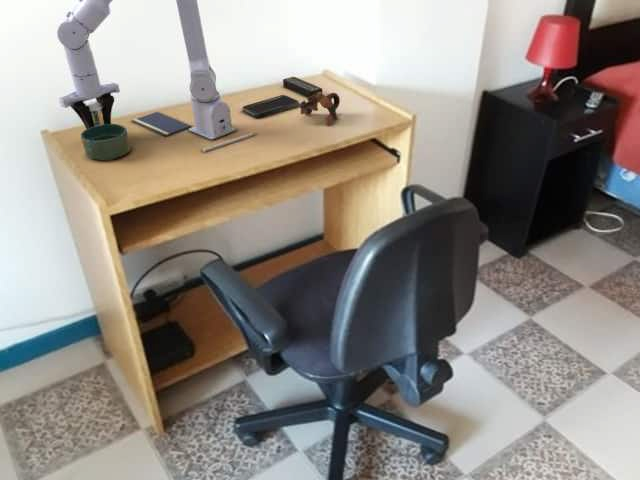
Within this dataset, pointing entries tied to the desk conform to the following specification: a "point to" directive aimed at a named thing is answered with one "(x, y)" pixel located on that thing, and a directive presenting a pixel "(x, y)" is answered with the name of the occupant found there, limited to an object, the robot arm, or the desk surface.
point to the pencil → (227, 142)
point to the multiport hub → (301, 86)
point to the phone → (270, 106)
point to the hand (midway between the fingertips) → (99, 127)
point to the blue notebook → (161, 124)
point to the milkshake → (96, 113)
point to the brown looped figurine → (325, 102)
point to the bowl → (106, 141)
